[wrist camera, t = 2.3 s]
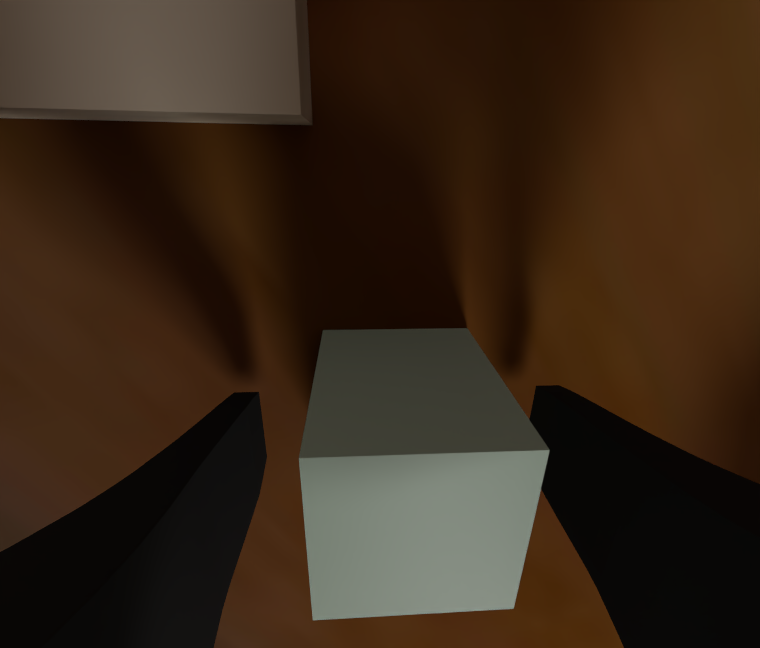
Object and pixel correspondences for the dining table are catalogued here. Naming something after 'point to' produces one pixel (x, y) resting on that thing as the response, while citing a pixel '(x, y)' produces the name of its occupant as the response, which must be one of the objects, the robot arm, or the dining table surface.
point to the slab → (156, 61)
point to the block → (415, 476)
